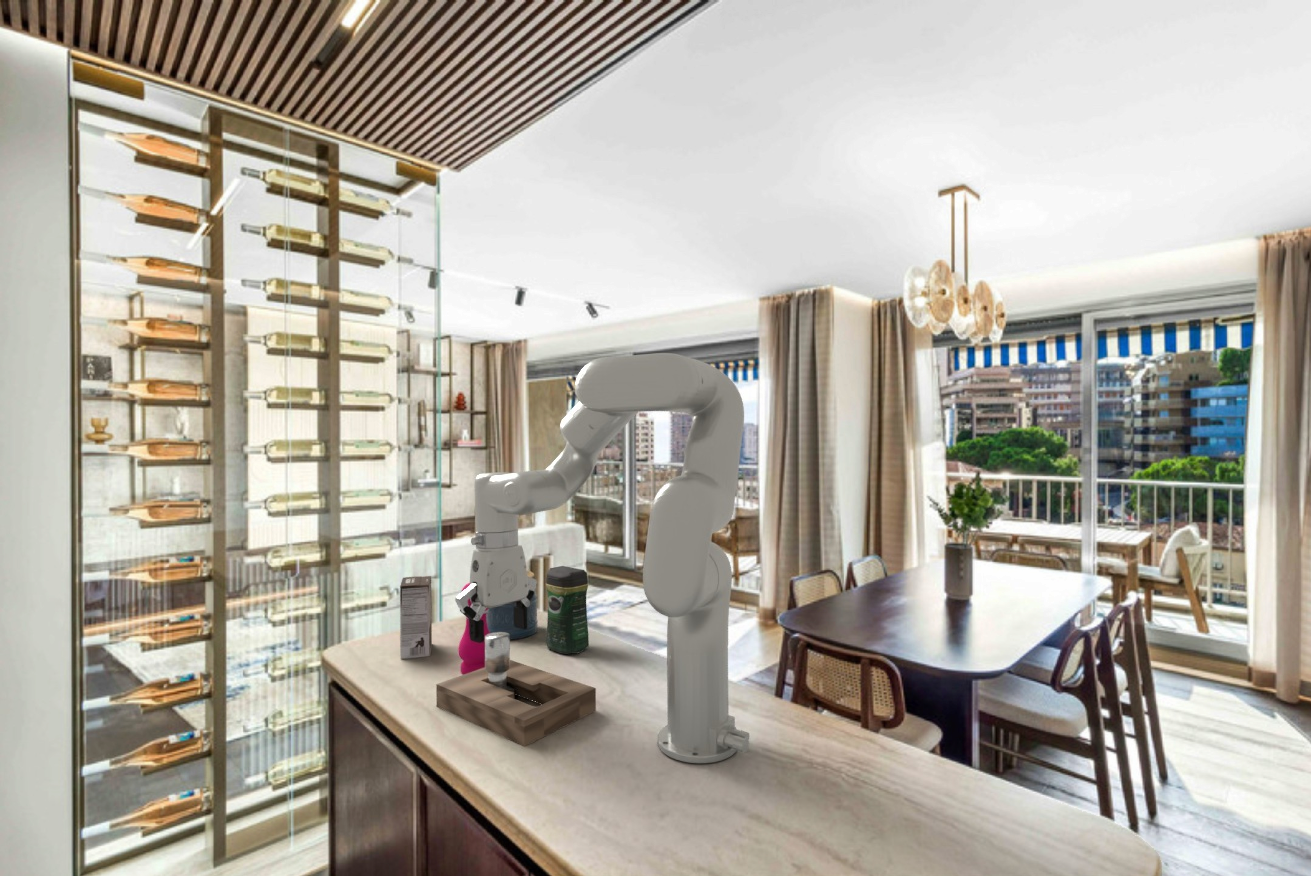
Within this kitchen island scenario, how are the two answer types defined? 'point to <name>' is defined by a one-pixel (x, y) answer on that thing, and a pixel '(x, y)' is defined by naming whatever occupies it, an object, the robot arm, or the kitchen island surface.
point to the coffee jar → (567, 610)
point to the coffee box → (415, 617)
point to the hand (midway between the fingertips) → (499, 634)
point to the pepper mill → (472, 646)
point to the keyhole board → (517, 702)
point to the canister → (504, 618)
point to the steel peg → (498, 659)
